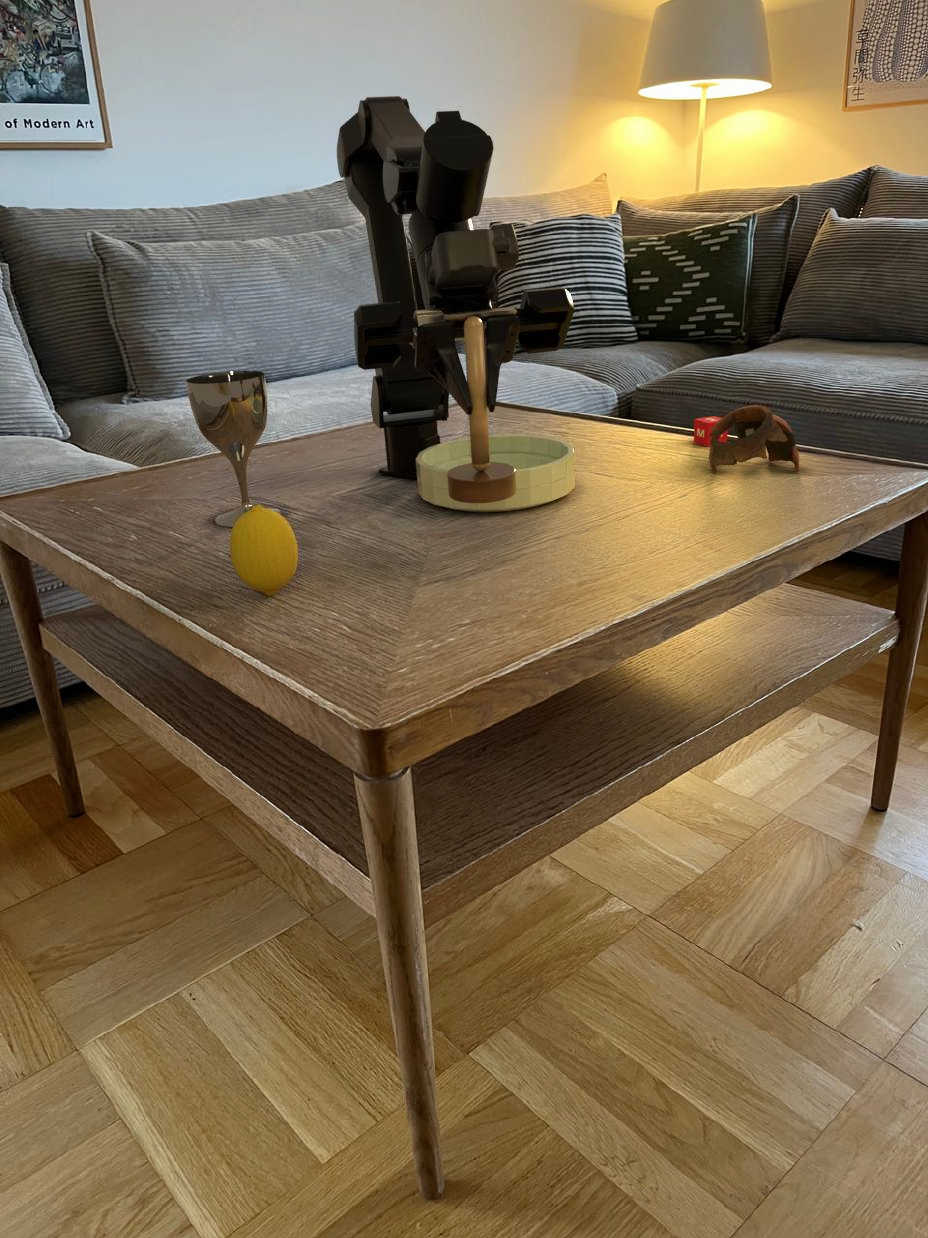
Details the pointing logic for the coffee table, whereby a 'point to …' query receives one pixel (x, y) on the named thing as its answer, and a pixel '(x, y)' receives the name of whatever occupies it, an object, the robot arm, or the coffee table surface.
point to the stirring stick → (479, 434)
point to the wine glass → (231, 421)
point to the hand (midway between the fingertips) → (481, 410)
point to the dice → (706, 430)
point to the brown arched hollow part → (753, 438)
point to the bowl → (534, 458)
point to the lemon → (263, 549)
